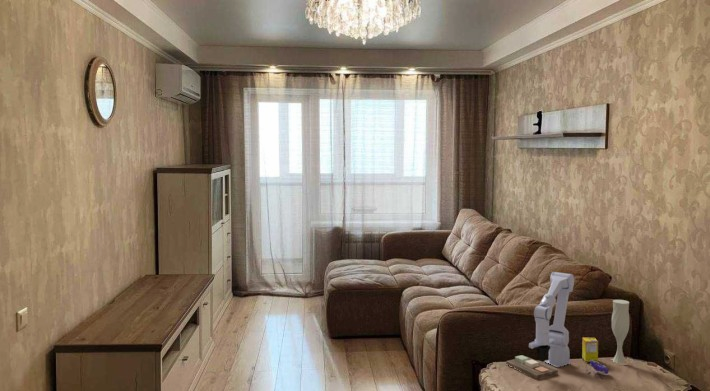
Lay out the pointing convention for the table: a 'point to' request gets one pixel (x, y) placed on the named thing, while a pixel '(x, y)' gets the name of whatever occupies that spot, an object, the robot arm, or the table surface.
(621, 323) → the vase
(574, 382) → the table surface
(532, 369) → the button panel
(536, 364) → the cream button
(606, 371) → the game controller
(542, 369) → the terracotta button
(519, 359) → the sage button
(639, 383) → the table surface
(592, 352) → the supplement box
